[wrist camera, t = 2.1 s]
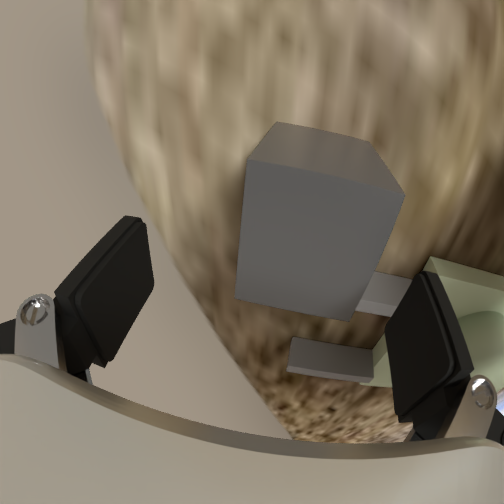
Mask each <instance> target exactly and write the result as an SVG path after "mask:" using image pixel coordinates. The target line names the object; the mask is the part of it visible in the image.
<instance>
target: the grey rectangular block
mask: <svg viewBox="0 0 504 504" xmlns="http://www.w3.org/2000/svg"><path fill="white" fill-rule="evenodd" d="M404 197H405V194H404V192H403V190H402V189H401V187H400V186H399V184H398V182H397V181H396V179H395V178H394V176H393V175H392V173H391V172H390V170H389V169H388V168H387V166H386V165H385V163H384V162H383V160H382V159H381V157H380V156H379V155H378V153H377V152H376V151H375V149H374V148H373V146H372V145H371V144H370V142H368V141H364V140H361V139H357V138H353V137H349V136H345V135H341V134H337V133H333V132H328V131H324V130H319V129H314V128H309V127H304V126H299V125H293V124H288V123H282V122H276V123H275V124H274V126H273V127H272V128H271V129H270V131H269V132H268V133H267V134H266V136H265V137H264V138H263V139H262V141H261V142H260V143H259V145H258V146H257V147H256V148H255V150H254V151H253V152H252V154H251V155H250V156H249V157H248V159H247V166H246V176H245V186H244V197H243V207H242V218H241V229H240V240H239V251H238V263H237V274H236V286H235V298H234V299H239V300H243V301H247V302H252V303H256V304H261V305H266V306H270V307H275V308H280V309H285V310H289V311H294V312H299V313H304V314H309V315H315V316H320V317H325V318H331V319H336V320H342V321H347V322H349V321H350V319H351V317H352V315H353V314H354V312H355V310H356V308H357V306H358V304H359V302H360V300H361V298H362V296H363V294H364V292H365V290H366V288H367V286H368V284H369V282H370V279H371V277H372V275H373V273H374V271H375V269H376V266H377V264H378V262H379V260H380V258H381V255H382V253H383V251H384V248H385V246H386V244H387V241H388V239H389V236H390V234H391V232H392V229H393V227H394V224H395V222H396V219H397V216H398V214H399V211H400V208H401V206H402V203H403V200H404Z"/></svg>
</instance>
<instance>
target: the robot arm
mask: <svg viewBox="0 0 504 504" xmlns="http://www.w3.org/2000/svg"><path fill="white" fill-rule="evenodd" d="M153 287H154V277H153V271H152V264H151V257H150V251H149V244H148V235H147V227H146V224H145V223H143V221H142V219H141V218H139V217H133V216H124V217H123V218H122V219H121V220H120V221H119V222H118V223H117V224H116V225H115V226H114V227H113V228H112V229H111V230H110V231H109V232H108V233H107V234H106V235H105V236H104V237H103V238H102V239H101V240H100V241H99V242H98V243H97V244H96V245H95V246H94V247H93V248H92V249H91V250H90V251H89V253H88V254H87V255H86V256H85V257H84V258H83V259H82V260H81V261H80V262H79V264H78V265H77V266H76V267H75V268H74V269H73V270H72V271H71V272H70V274H69V275H68V276H67V277H66V278H65V279H64V281H63V282H62V283H61V284H60V285H59V287H58V288H57V289H56V290H55V291H54V293H55V295H56V297H55V298H54V299H53V300H52V298H51V297H50V296H48V295H46V294H36V295H33V296H31V297H29V298H28V299H26V300H25V301H24V302H23V303H22V304H21V305H20V307H19V309H18V311H17V315H16V319H13V320H10V321H7V322H4V323H1V324H0V504H504V416H503V415H502V414H501V413H500V412H499V411H498V410H497V409H496V405H497V393H496V389H495V387H494V385H493V383H492V382H491V381H490V380H489V379H488V378H487V377H485V376H483V375H475V376H473V377H472V378H471V376H470V373H471V372H472V371H473V370H474V366H473V363H472V359H471V356H470V353H469V350H468V347H467V344H466V341H465V338H464V336H463V333H462V330H461V327H460V325H459V322H458V320H457V317H456V314H455V312H454V309H453V307H452V305H451V302H450V300H449V298H448V295H447V293H446V291H445V289H444V286H443V284H442V282H441V280H440V278H439V276H438V274H437V273H433V272H429V271H421V272H420V273H419V274H416V275H415V277H414V279H413V280H412V282H411V284H410V286H409V288H408V289H407V291H406V293H405V295H404V296H403V298H402V300H401V302H400V303H399V305H398V307H397V308H396V310H395V312H394V313H393V315H392V316H391V318H390V320H389V321H388V323H387V324H386V327H385V339H386V345H387V352H388V358H389V365H390V373H391V381H392V389H393V399H394V410H395V413H396V415H398V421H399V423H403V422H412V421H413V428H412V430H411V431H410V433H409V434H408V436H407V437H406V439H405V440H404V441H403V442H397V443H375V444H345V443H323V442H309V441H298V440H288V439H281V438H273V437H266V436H260V435H254V434H248V433H242V432H238V431H233V430H228V429H223V428H219V427H214V426H210V425H206V424H203V423H199V422H195V421H191V420H188V419H184V418H181V417H177V416H174V415H171V414H167V413H164V412H161V411H158V410H155V409H152V408H149V407H146V406H144V405H141V404H138V403H135V402H133V401H130V400H127V399H125V398H122V397H120V396H117V395H115V394H113V393H110V392H108V391H106V390H103V389H101V388H98V387H96V386H94V385H93V384H92V380H91V376H90V371H89V367H90V365H91V364H92V363H94V364H96V365H99V366H101V367H103V368H105V367H106V365H107V363H108V361H109V362H110V361H112V360H113V359H114V357H115V355H116V354H117V352H118V350H119V348H120V346H121V344H122V343H123V340H124V339H125V337H126V335H127V333H128V332H129V330H130V328H131V326H132V325H133V323H134V321H135V319H136V318H137V316H138V314H139V312H140V311H141V309H142V307H143V306H144V304H145V302H146V300H147V299H148V297H149V295H150V294H151V292H152V290H153Z"/></svg>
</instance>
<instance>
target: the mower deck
mask: <svg viewBox="0 0 504 504" xmlns="http://www.w3.org/2000/svg"><path fill="white" fill-rule="evenodd" d="M423 271H429V272H433V273H437V274H438V276H439V278H440V280H441V282H442V284H443V286H444V289H445V291H446V293H447V295H448V298H449V300H450V302H451V305H452V307H453V309H454V312H455V314H456V317H457V320H458V322H459V325H460V327H461V330H462V333H463V336H464V338H465V341H466V344H467V347H468V350H469V353H470V356H471V359H472V363H473V366H474V370H473V371H472V372H471V373H470V376H471V378H472V377H473V376H475V375H483V376H485V377H487V378H488V379H489V380H490V381H491V382H492V383H493V385H494V387H495V389H496V393H497V392H498V391H500V390H501V389H502V388H503V387H504V277H503V276H500V275H496V274H493V273H490V272H486V271H483V270H479V269H476V268H472V267H469V266H465V265H461V264H458V263H454V262H450V261H447V260H443V259H439V258H435V257H432V256H430V258H429V260H428V261H427V263H426V265H425V267H424V269H423ZM412 280H413V279H408V278H404V277H399V276H394V275H390V274H385V273H380V272H376V271H374V273H373V275H372V277H371V279H370V282H369V284H368V286H367V288H366V290H365V292H364V294H363V296H362V298H361V300H360V302H359V304H358V306H357V308H356V310H355V311H360V312H366V313H371V314H377V315H383V316H389V317H391V316H392V315H393V313H394V312H395V310H396V308H397V307H398V305H399V303H400V302H401V300H402V298H403V296H404V295H405V293H406V291H407V289H408V288H409V286H410V284H411V282H412ZM286 371H287V372H293V373H298V374H304V375H310V376H316V377H323V378H330V379H337V380H344V381H353V382H359V385H368V386H379V387H392V381H391V373H390V365H389V358H388V352H387V345H386V339H385V333H384V334H383V336H382V337H381V338H380V340H379V341H378V343H377V344H376V345H375V347H374V348H373V350H370V349H363V348H356V347H350V346H343V345H337V344H331V343H325V342H319V341H314V340H308V339H303V338H298V337H293V338H292V341H291V344H290V350H289V356H288V363H287V369H286Z"/></svg>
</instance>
